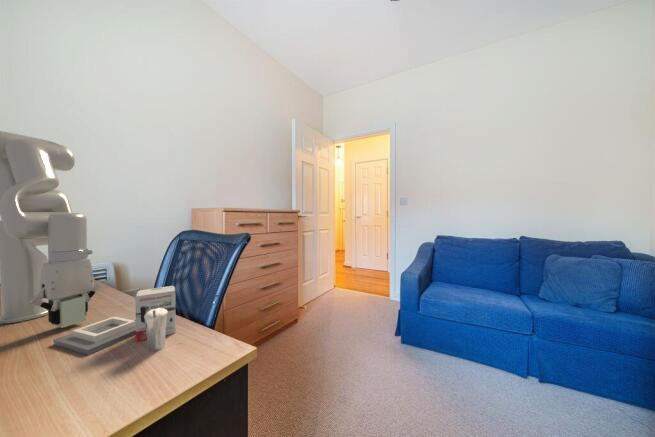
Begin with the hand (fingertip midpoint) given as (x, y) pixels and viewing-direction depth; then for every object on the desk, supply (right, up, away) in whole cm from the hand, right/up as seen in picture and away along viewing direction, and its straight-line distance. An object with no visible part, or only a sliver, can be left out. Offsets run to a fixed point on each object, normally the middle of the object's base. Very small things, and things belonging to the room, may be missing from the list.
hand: (69, 318), depth 69 cm
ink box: (+29, -2, -5) cm, 29 cm away
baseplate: (+16, -2, -5) cm, 17 cm away
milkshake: (+34, -2, -12) cm, 36 cm away
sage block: (0, -1, 0) cm, 1 cm away
